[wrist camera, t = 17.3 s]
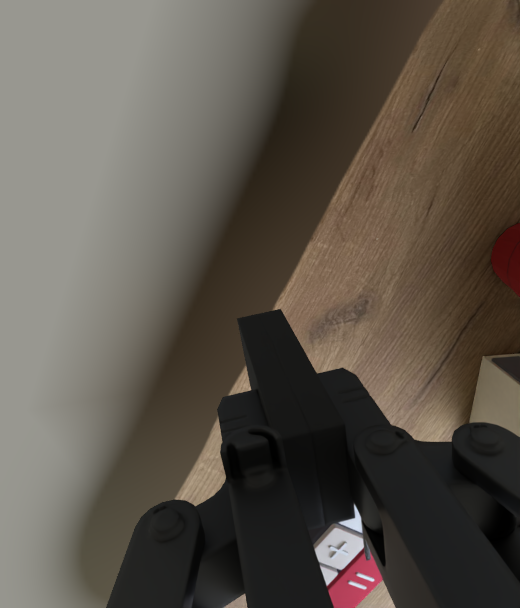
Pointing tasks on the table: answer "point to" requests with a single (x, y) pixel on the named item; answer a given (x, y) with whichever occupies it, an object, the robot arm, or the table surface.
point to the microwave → (498, 392)
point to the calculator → (345, 562)
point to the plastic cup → (508, 258)
